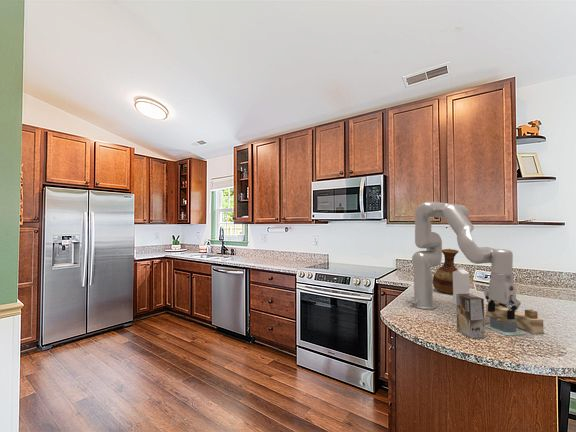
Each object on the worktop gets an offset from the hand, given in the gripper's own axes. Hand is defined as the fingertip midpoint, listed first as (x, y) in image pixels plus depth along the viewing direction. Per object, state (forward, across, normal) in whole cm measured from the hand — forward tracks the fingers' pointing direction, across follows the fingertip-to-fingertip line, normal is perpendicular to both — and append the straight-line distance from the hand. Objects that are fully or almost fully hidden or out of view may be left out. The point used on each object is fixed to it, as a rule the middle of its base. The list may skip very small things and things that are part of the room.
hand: (500, 315), depth 125 cm
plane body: (+6, +5, -11) cm, 14 cm away
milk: (+8, +37, -11) cm, 39 cm away
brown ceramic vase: (+8, +67, -26) cm, 72 cm away
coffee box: (+7, -3, +18) cm, 19 cm away
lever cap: (+6, -1, 0) cm, 6 cm away
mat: (+6, -1, 0) cm, 6 cm away
